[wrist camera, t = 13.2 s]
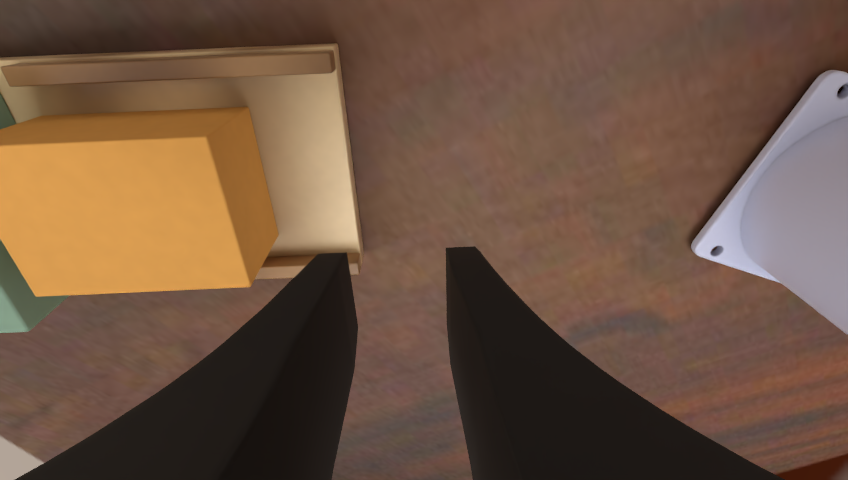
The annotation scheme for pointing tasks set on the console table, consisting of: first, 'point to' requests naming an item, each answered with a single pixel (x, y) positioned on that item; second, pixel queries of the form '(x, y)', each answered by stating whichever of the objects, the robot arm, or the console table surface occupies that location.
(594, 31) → the console table surface
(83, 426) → the console table surface
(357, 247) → the assembly board
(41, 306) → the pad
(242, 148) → the orange block
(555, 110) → the console table surface
